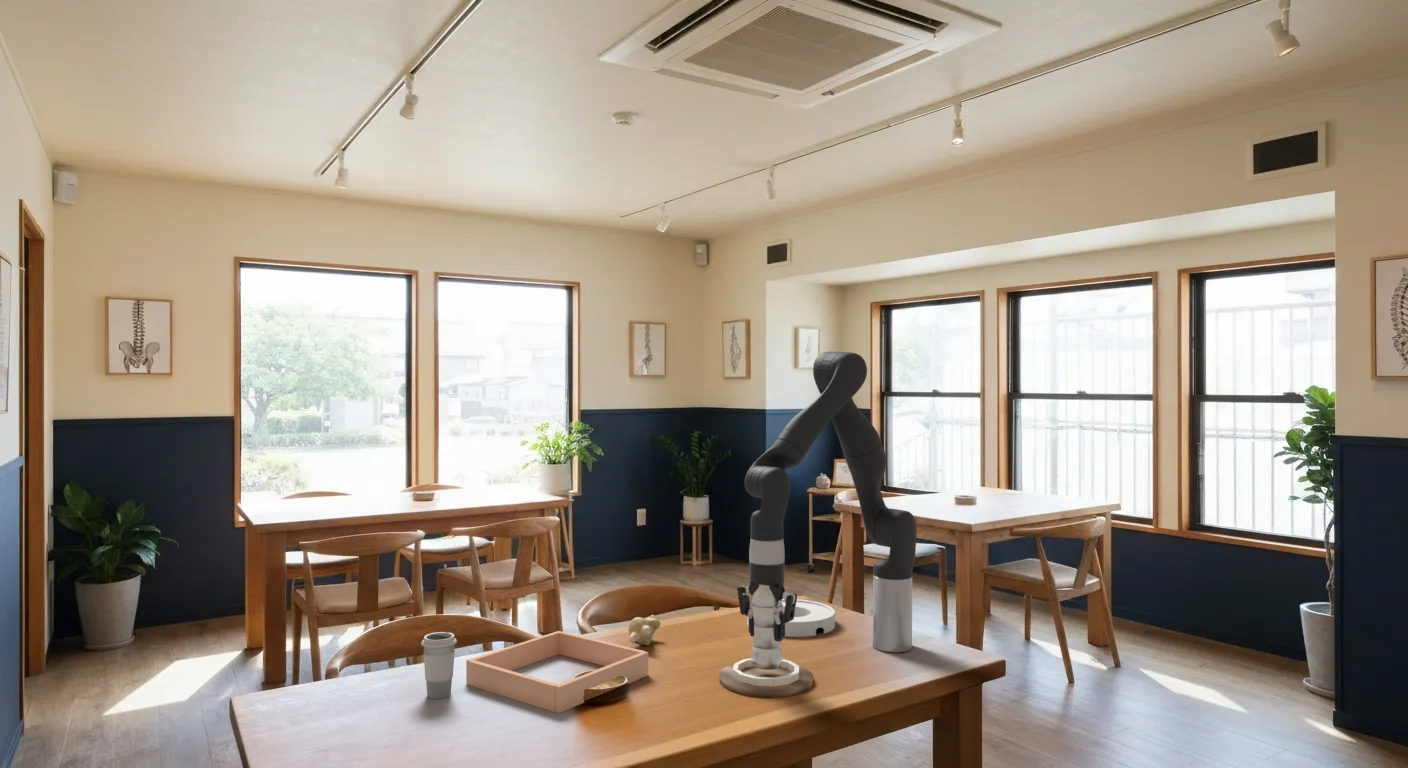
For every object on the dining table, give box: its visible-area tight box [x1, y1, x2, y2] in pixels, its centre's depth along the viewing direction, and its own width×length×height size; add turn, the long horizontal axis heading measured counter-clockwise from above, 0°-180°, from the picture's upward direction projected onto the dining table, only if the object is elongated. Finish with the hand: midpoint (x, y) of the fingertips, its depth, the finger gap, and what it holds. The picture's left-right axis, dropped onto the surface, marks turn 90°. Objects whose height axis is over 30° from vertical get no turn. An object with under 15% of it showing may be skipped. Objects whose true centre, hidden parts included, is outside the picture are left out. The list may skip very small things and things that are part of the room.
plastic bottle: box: [750, 585, 783, 670], centre depth 191 cm, size 6×7×20 cm
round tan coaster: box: [718, 662, 814, 698], centre depth 191 cm, size 20×20×1 cm
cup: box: [420, 631, 458, 700], centre depth 182 cm, size 7×7×12 cm
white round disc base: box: [746, 598, 836, 638], centre depth 235 cm, size 23×23×4 cm
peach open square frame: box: [465, 630, 649, 714], centre depth 191 cm, size 27×27×5 cm
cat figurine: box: [627, 614, 661, 646], centre depth 216 cm, size 8×7×12 cm
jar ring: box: [733, 658, 799, 686], centre depth 191 cm, size 14×14×2 cm
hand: (766, 637), depth 191 cm, fingers closed on plastic bottle, 5 cm apart
